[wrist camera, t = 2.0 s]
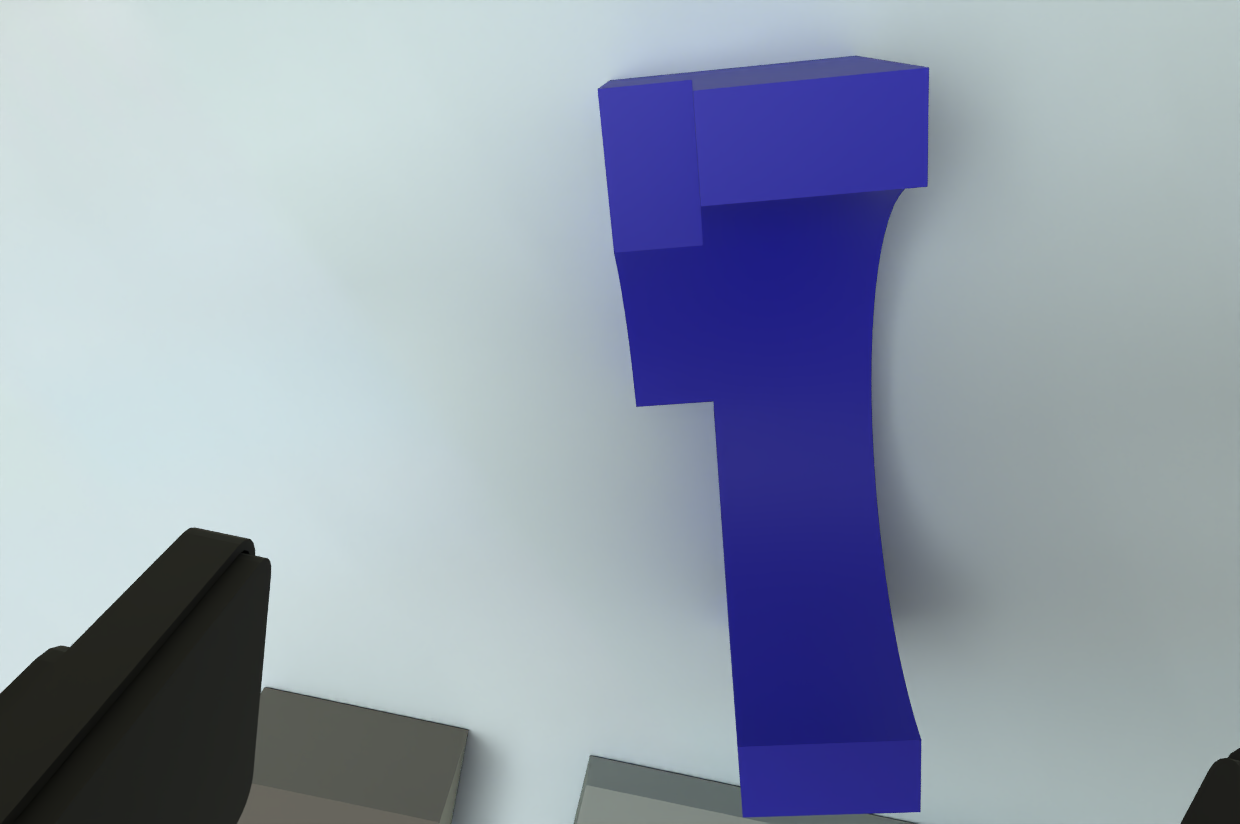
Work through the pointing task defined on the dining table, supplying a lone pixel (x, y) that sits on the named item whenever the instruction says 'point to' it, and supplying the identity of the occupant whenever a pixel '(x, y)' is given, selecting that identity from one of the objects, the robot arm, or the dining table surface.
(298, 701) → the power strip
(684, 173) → the blue curved block
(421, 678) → the dining table surface
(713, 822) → the slate mat
